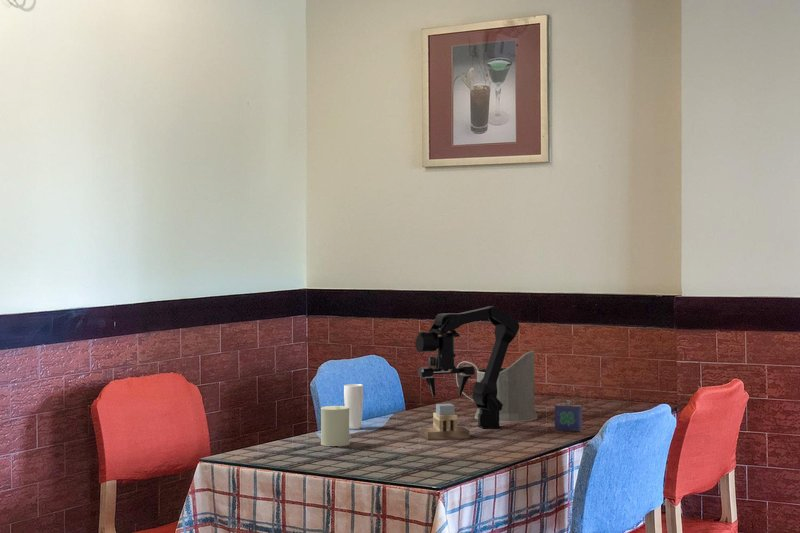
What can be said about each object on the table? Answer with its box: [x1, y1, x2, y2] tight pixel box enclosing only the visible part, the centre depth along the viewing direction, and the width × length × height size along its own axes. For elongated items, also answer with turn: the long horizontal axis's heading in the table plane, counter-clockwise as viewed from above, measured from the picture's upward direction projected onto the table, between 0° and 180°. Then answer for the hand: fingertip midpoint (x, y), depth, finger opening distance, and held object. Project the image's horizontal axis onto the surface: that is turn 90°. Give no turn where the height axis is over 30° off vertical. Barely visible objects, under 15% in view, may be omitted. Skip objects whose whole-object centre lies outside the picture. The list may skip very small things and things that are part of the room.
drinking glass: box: [343, 383, 364, 430], centre depth 344 cm, size 7×7×15 cm
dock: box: [420, 425, 471, 441], centre depth 325 cm, size 14×9×2 cm, turn 103°
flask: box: [554, 399, 583, 433], centre depth 334 cm, size 9×3×11 cm, turn 68°
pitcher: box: [455, 350, 538, 423], centre depth 370 cm, size 23×32×25 cm
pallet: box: [432, 412, 458, 431], centre depth 325 cm, size 6×8×5 cm
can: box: [320, 405, 351, 447], centre depth 313 cm, size 9×9×12 cm
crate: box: [435, 403, 456, 415], centre depth 325 cm, size 5×5×3 cm
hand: (446, 396), depth 336 cm, fingers open, 9 cm apart
